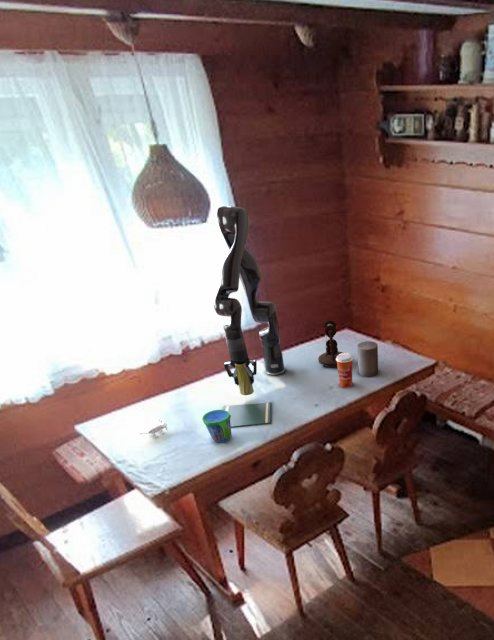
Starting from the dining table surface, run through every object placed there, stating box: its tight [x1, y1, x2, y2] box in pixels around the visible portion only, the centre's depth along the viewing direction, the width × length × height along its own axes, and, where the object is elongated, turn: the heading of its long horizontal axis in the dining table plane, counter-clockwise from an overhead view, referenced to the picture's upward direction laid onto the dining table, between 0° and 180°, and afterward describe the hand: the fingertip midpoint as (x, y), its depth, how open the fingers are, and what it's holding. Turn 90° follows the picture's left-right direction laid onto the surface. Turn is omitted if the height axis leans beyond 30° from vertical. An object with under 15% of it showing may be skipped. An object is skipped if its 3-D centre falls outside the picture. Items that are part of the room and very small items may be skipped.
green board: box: [223, 401, 272, 428], centre depth 218 cm, size 18×20×1 cm
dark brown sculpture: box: [317, 319, 344, 368], centre depth 250 cm, size 15×15×20 cm
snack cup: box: [201, 409, 232, 443], centre depth 201 cm, size 16×10×10 cm
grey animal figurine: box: [139, 419, 169, 438], centre depth 206 cm, size 12×5×5 cm, turn 141°
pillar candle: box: [356, 340, 380, 378], centre depth 242 cm, size 10×10×15 cm
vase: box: [235, 363, 255, 396], centre depth 222 cm, size 6×6×14 cm
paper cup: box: [336, 352, 354, 389], centre depth 233 cm, size 8×8×14 cm
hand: (245, 383), depth 224 cm, fingers closed on vase, 5 cm apart
